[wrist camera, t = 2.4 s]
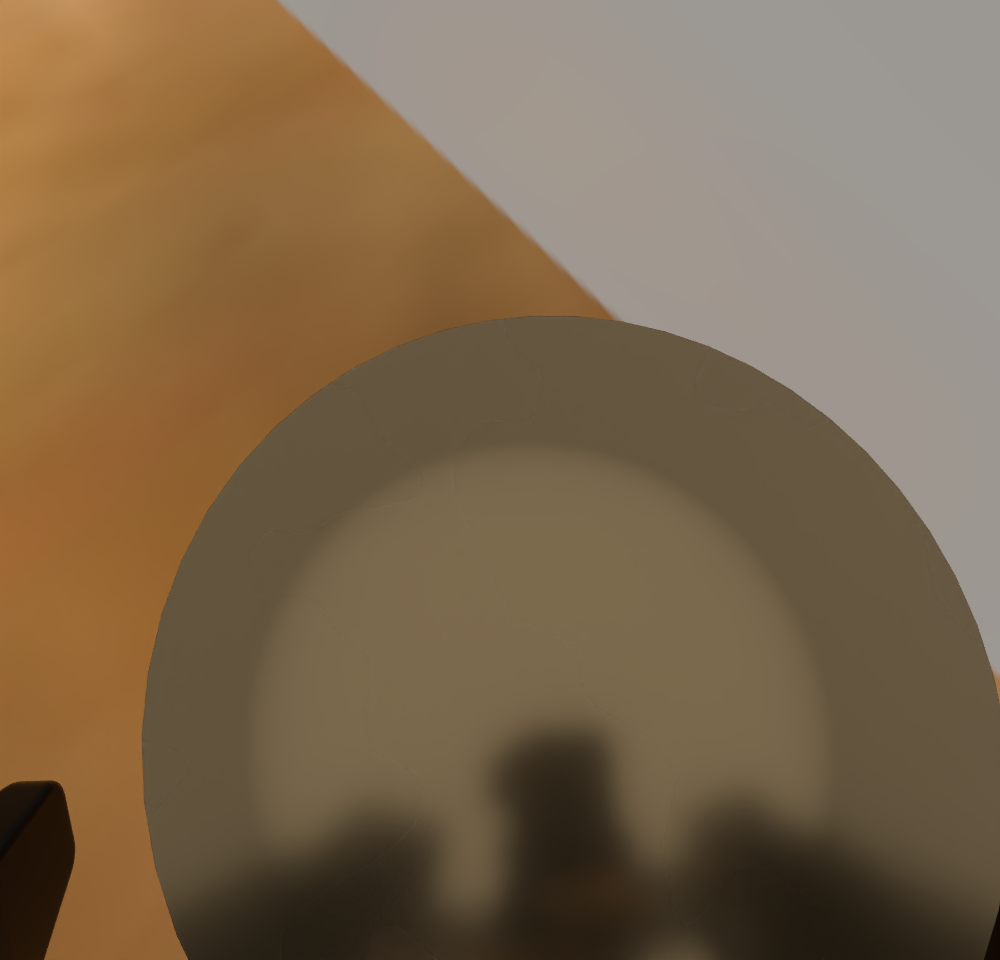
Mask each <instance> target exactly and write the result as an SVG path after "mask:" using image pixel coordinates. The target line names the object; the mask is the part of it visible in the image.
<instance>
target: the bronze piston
mask: <svg viewBox="0 0 1000 960" xmlns="http://www.w3.org/2000/svg"><path fill="white" fill-rule="evenodd" d="M142 755H143V784H144V804H145V809H146V815H147V821H148V827H149V833H150V839H151V845H152V851H153V856H154V862H155V868H156V871H157V874H158V878H159V881H160V884H161V887H162V890H163V893H164V897H165V900H166V903H167V906H168V909H169V912H170V916H171V919H172V922H173V925H174V928H175V931H176V935H177V937H178V939H179V941H180V943H181V945H182V947H183V949H184V951H185V954H186V956H187V958H188V960H984V957H985V954H986V951H987V947H988V944H989V941H990V937H991V934H992V931H993V927H994V924H995V921H996V917H997V914H998V911H999V905H1000V704H999V699H998V694H997V689H996V684H995V679H994V676H993V672H992V669H991V666H990V663H989V660H988V657H987V654H986V651H985V647H984V644H983V641H982V638H981V635H980V632H979V629H978V626H977V623H976V621H975V619H974V617H973V614H972V612H971V610H970V607H969V605H968V603H967V601H966V599H965V596H964V594H963V592H962V589H961V587H960V585H959V583H958V580H957V578H956V576H955V574H954V572H953V571H952V569H951V567H950V565H949V564H948V562H947V560H946V559H945V557H944V555H943V553H942V552H941V550H940V548H939V546H938V545H937V543H936V541H935V539H934V538H933V536H932V534H931V532H930V531H929V529H928V528H927V527H926V525H925V524H924V522H923V521H922V520H921V518H920V517H919V515H918V514H917V513H916V512H915V510H914V509H913V507H912V506H911V504H910V503H909V502H908V500H907V499H906V498H905V496H904V495H903V493H902V492H901V491H900V489H899V488H898V487H897V486H896V485H895V484H894V482H893V481H892V480H891V479H890V478H889V477H888V476H887V475H886V474H885V472H884V471H883V470H882V469H881V468H880V467H879V466H878V464H877V463H876V462H875V461H874V460H873V459H872V458H871V457H870V456H869V455H868V453H867V452H866V451H865V450H864V449H863V448H862V447H860V446H859V445H858V444H857V443H856V442H855V441H854V440H853V439H852V438H851V437H850V436H848V435H847V434H846V433H845V432H844V431H843V430H842V429H841V428H840V427H839V426H837V425H836V424H835V423H834V422H833V421H832V420H831V419H830V418H828V417H827V416H826V415H824V414H823V413H822V412H820V411H819V410H818V409H816V408H815V407H814V406H812V405H811V404H810V403H808V402H807V401H805V400H804V399H803V398H802V397H800V396H799V395H797V394H796V393H795V392H793V391H792V390H791V389H789V388H787V387H786V386H784V385H782V384H781V383H779V382H777V381H775V380H774V379H772V378H770V377H769V376H767V375H765V374H764V373H762V372H760V371H759V370H757V369H755V368H754V367H752V366H750V365H748V364H746V363H743V362H741V361H739V360H737V359H735V358H732V357H730V356H728V355H726V354H724V353H722V352H720V351H718V350H715V349H713V348H711V347H709V346H706V345H703V344H700V343H697V342H694V341H691V340H688V339H686V338H683V337H680V336H676V335H674V334H671V333H668V332H665V331H660V330H656V329H652V328H647V327H643V326H639V325H634V324H630V323H625V322H621V321H612V320H604V319H595V318H586V317H577V316H527V317H518V318H509V319H500V320H491V321H483V322H479V323H474V324H470V325H466V326H461V327H457V328H452V329H448V330H444V331H439V332H437V333H434V334H431V335H428V336H425V337H423V338H420V339H417V340H414V341H411V342H409V343H406V344H403V345H400V346H397V347H395V348H393V349H391V350H389V351H387V352H385V353H383V354H381V355H379V356H377V357H375V358H373V359H371V360H369V361H367V362H365V363H363V364H361V365H359V366H357V367H355V368H353V369H351V370H350V371H348V372H347V373H345V374H344V375H342V376H341V377H339V378H338V379H336V380H334V381H333V382H331V383H330V384H328V385H327V386H325V387H324V388H322V389H321V390H319V391H318V392H316V393H315V394H313V395H312V396H311V397H310V398H308V399H307V400H306V401H305V402H304V403H302V404H301V405H300V406H299V407H298V408H297V409H295V410H294V411H293V412H292V413H291V414H290V415H288V416H287V417H286V418H285V419H284V420H283V421H281V422H280V423H279V424H278V425H277V426H276V427H274V428H273V429H272V431H271V432H270V433H269V434H268V435H267V436H266V437H265V438H264V439H263V440H262V442H261V443H260V444H259V445H258V446H257V447H256V448H255V449H254V450H253V451H252V452H251V454H250V455H249V456H248V457H247V458H246V459H245V460H244V461H243V462H242V463H241V465H240V466H239V467H238V468H237V470H236V471H235V473H234V474H233V475H232V477H231V478H230V480H229V481H228V483H227V484H226V485H225V487H224V488H223V490H222V491H221V492H220V494H219V495H218V497H217V498H216V500H215V501H214V502H213V504H212V505H211V507H210V508H209V510H208V511H207V513H206V515H205V517H204V519H203V521H202V523H201V525H200V526H199V528H198V530H197V532H196V534H195V536H194V538H193V540H192V542H191V543H190V545H189V547H188V549H187V551H186V553H185V555H184V557H183V559H182V561H181V564H180V566H179V569H178V572H177V574H176V577H175V580H174V582H173V585H172V588H171V590H170V593H169V596H168V598H167V601H166V604H165V606H164V609H163V612H162V615H161V619H160V623H159V628H158V632H157V636H156V641H155V645H154V649H153V653H152V658H151V662H150V666H149V671H148V678H147V688H146V698H145V708H144V718H143V729H142Z"/></svg>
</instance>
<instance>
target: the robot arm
mask: <svg viewBox="0 0 1000 960" xmlns="http://www.w3.org/2000/svg"><path fill="white" fill-rule="evenodd" d="M74 858H75V841H74V836H73V831H72V826H71V821H70V817H69V812H68V807H67V802H66V797H65V793H64V790H63V788H62V786H61V785H60V784H59V783H58V782H55V781H51V780H50V781H23V782H16V783H12V784H10V785H8V786H6V787H5V788H3V789H2V790H1V791H0V960H44V958H45V955H46V952H47V948H48V945H49V942H50V939H51V936H52V933H53V929H54V926H55V923H56V920H57V917H58V914H59V910H60V907H61V904H62V901H63V898H64V894H65V891H66V888H67V885H68V882H69V879H70V875H71V872H72V868H73V864H74ZM984 960H1000V905H999V911H998V914H997V917H996V921H995V924H994V927H993V931H992V934H991V937H990V941H989V944H988V947H987V951H986V954H985V957H984Z"/></svg>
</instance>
